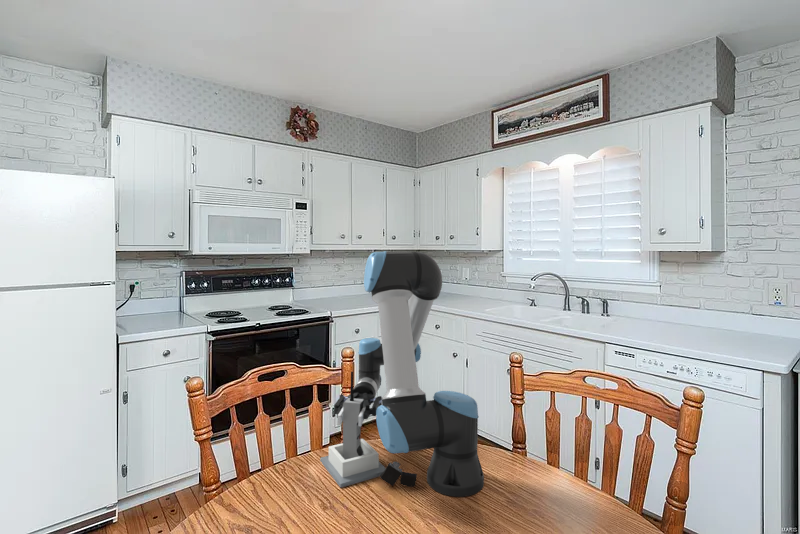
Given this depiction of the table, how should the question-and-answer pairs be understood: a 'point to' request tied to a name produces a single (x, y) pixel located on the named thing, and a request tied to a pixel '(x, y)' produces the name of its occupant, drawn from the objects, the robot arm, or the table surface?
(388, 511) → the table surface
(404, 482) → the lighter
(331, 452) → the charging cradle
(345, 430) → the vintage mobile phone
